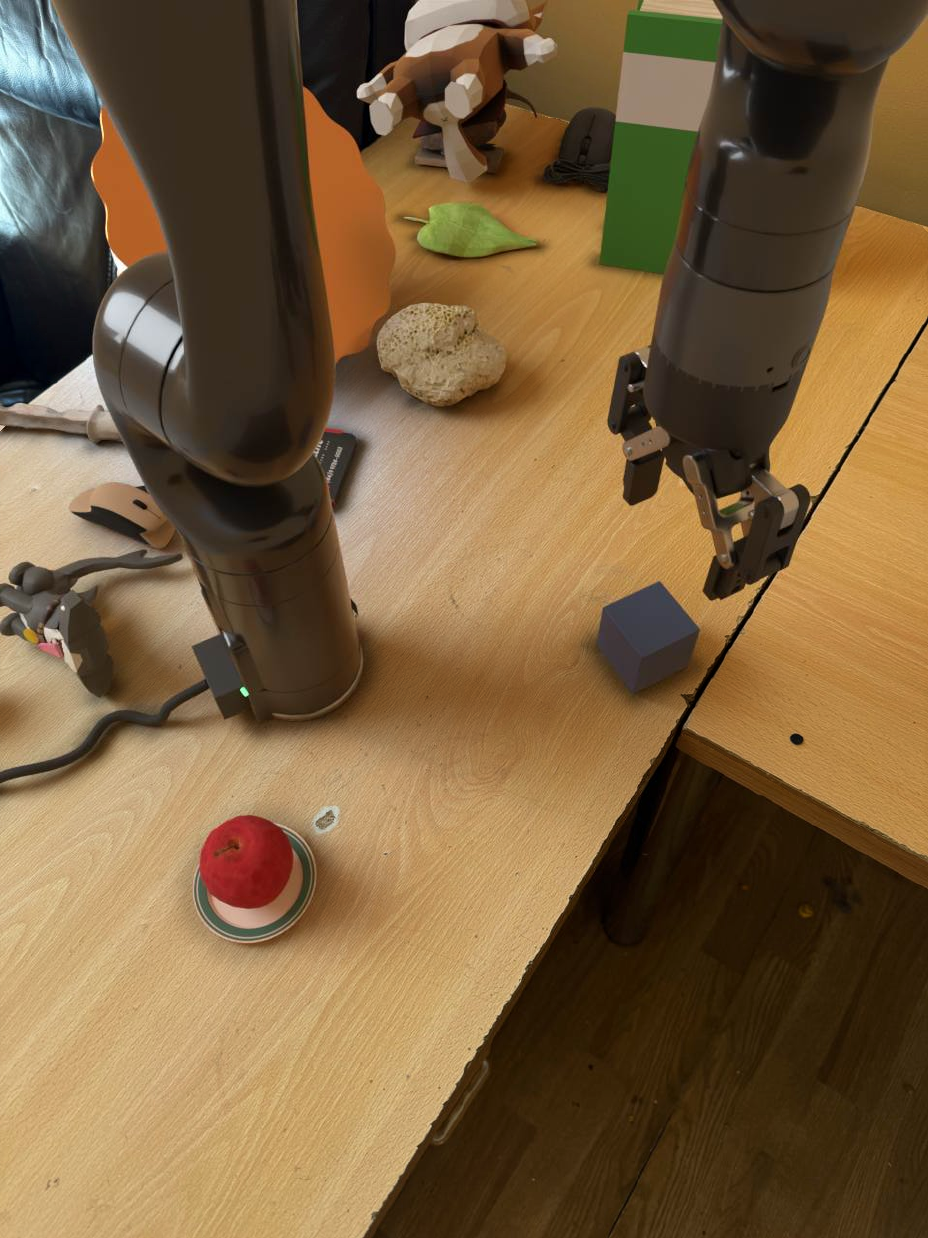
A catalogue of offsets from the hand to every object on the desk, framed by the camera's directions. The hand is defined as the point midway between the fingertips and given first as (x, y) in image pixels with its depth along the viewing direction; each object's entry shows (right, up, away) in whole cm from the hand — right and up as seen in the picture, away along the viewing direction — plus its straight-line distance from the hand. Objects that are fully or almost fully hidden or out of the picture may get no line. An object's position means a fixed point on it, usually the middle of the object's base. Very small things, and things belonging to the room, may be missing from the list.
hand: (678, 543), depth 58 cm
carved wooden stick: (-45, +12, +28) cm, 54 cm away
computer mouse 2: (+2, +50, +53) cm, 73 cm away
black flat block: (-23, +8, +24) cm, 34 cm away
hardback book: (+11, +34, +42) cm, 55 cm away
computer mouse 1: (-41, +4, +22) cm, 47 cm away
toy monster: (-48, -5, +14) cm, 50 cm away
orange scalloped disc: (-31, +30, +23) cm, 49 cm away
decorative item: (-16, +18, +31) cm, 39 cm away
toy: (-18, +45, +36) cm, 60 cm away
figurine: (-12, +49, +53) cm, 73 cm away
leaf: (-13, +37, +44) cm, 59 cm away
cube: (0, -8, +13) cm, 15 cm away
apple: (-27, -22, +3) cm, 35 cm away
